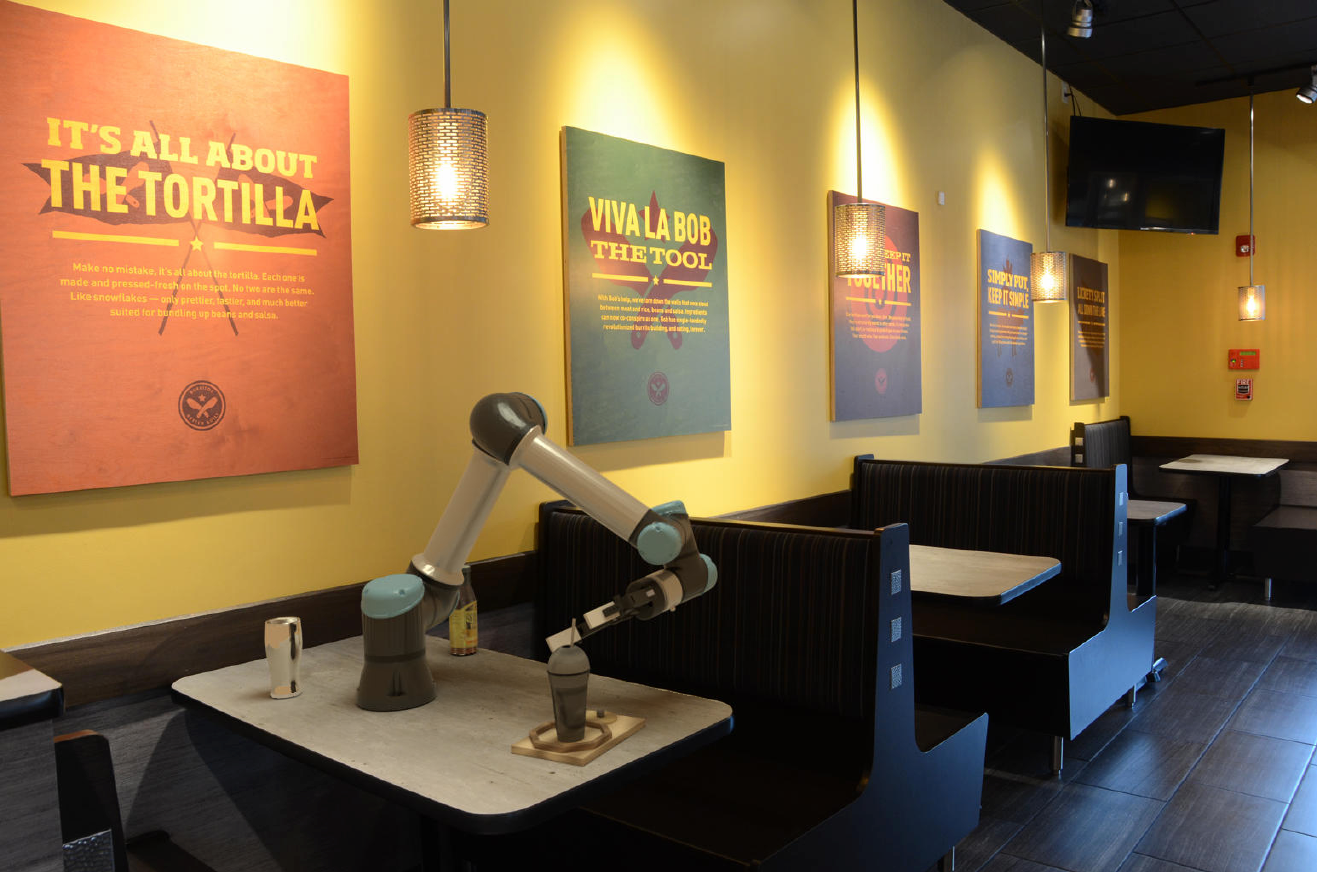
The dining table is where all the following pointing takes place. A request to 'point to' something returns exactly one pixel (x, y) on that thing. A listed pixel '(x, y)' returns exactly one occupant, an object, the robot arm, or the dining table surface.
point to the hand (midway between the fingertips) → (568, 633)
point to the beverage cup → (569, 690)
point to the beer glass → (284, 654)
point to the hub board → (598, 738)
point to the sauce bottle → (464, 619)
